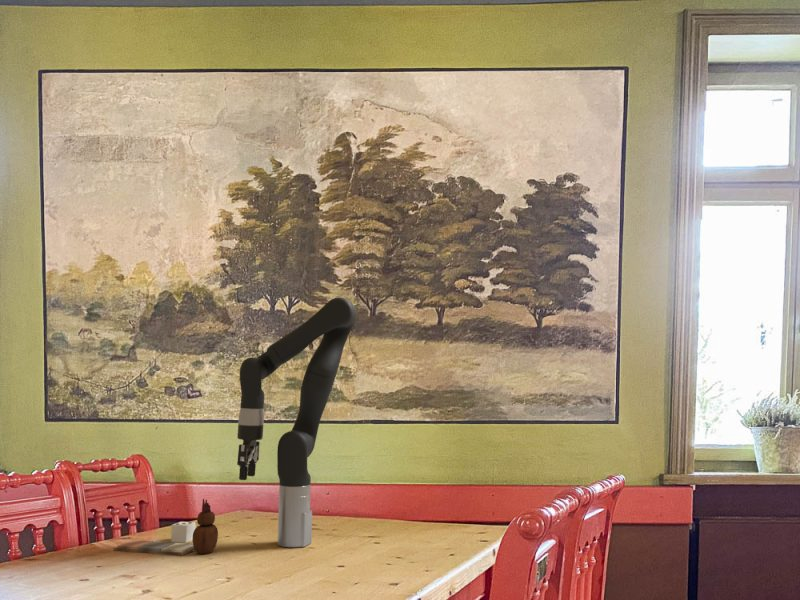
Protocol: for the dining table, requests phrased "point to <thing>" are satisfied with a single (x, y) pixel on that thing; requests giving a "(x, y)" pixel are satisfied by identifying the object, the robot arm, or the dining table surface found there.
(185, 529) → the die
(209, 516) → the wooden figurine
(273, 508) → the dining table surface
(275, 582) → the dining table surface
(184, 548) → the game strip
